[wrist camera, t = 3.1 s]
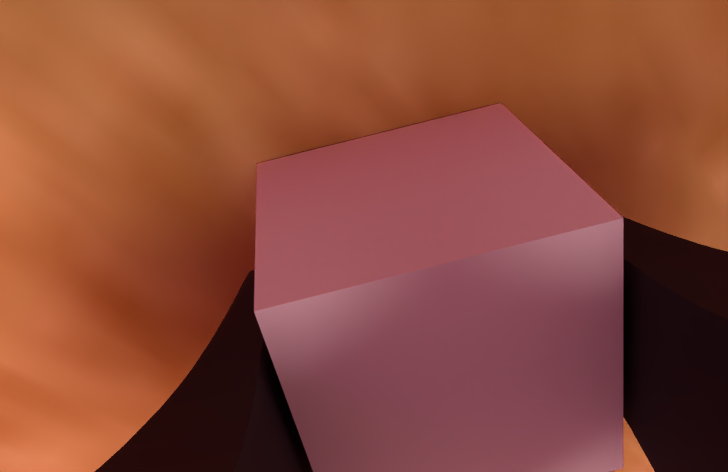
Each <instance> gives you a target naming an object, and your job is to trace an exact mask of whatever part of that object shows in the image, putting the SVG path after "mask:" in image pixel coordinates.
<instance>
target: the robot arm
mask: <svg viewBox="0 0 728 472" xmlns="http://www.w3.org/2000/svg"><path fill="white" fill-rule="evenodd" d="M254 282H255V270H253V271H250V272H249V274H248V275H247V277H246V279H245V280H244V282H243V284H242V286H241V288H240V290H239V292H238V294H237V296H236V298H235V299H234V301H233V303H232V305H231V307H230V309H229V311H228V312H227V314H226V316H225V318H224V319H223V321H222V323H221V324H220V326H219V328H218V330H217V331H216V333H215V335H214V336H213V338H212V340H211V341H210V343H209V344H208V346H207V347H206V349H205V350H204V352H203V353H202V355H201V356H200V358H199V359H198V361H197V362H196V364H195V365H194V367H193V368H192V370H191V371H190V372H189V374H188V375H187V376H186V378H185V379H184V380H183V382H182V383H181V384H180V385H179V387H178V388H177V389H176V390H175V391H174V393H173V394H172V395H171V396H170V397H169V399H168V400H167V401H166V402H165V403H164V405H163V406H162V407H161V408H160V409H159V410H158V411H157V412H156V413H155V414H154V415H153V416H152V417H151V418H150V419H149V420H148V421H147V423H146V424H145V425H144V426H143V427H142V428H141V429H140V430H139V431H138V432H137V433H136V434H135V435H134V436H133V437H132V438H131V439H130V440H129V441H128V442H127V443H126V444H125V445H124V446H123V447H122V448H121V449H120V450H119V451H117V452H116V453H115V454H114V455H113V456H112V457H111V458H110V459H109V460H107V461H106V462H105V463H104V464H103V465H102V466H101V467H100V468H98V469H97V470H96V471H95V472H313V470H312V467H311V465H310V462H309V459H308V456H307V454H306V451H305V448H304V446H303V443H302V440H301V437H300V435H299V432H298V429H297V427H296V424H295V421H294V419H293V416H292V413H291V410H290V408H289V405H288V402H287V400H286V397H285V394H284V392H283V389H282V386H281V383H280V381H279V378H278V375H277V373H276V370H275V367H274V364H273V362H272V359H271V356H270V354H269V351H268V348H267V346H266V343H265V340H264V337H263V335H262V332H261V329H260V327H259V324H258V321H257V318H256V316H255V313H254ZM623 417H624V418H625V420H626V421H627V423H628V424H629V426H630V428H631V429H632V431H633V433H634V435H635V437H636V438H637V440H638V442H639V444H640V446H641V447H642V449H643V451H644V453H645V455H646V456H647V458H648V460H649V462H650V464H651V465H652V467H653V469H654V471H655V472H728V252H727V251H723V250H719V249H715V248H711V247H708V246H704V245H701V244H697V243H694V242H691V241H688V240H685V239H682V238H679V237H676V236H673V235H670V234H667V233H664V232H661V231H659V230H656V229H653V228H650V227H648V226H645V225H642V224H640V223H637V222H635V221H632V220H630V219H627V218H624V217H623Z"/></svg>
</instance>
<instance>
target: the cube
mask: <svg viewBox="0 0 728 472" xmlns="http://www.w3.org/2000/svg"><path fill="white" fill-rule="evenodd" d="M254 313H255V316H256V318H257V321H258V324H259V327H260V329H261V332H262V335H263V337H264V340H265V343H266V346H267V348H268V351H269V354H270V356H271V359H272V362H273V364H274V367H275V370H276V373H277V375H278V378H279V381H280V383H281V386H282V389H283V392H284V394H285V397H286V400H287V402H288V405H289V408H290V410H291V413H292V416H293V419H294V421H295V424H296V427H297V429H298V432H299V435H300V437H301V440H302V443H303V446H304V448H305V451H306V454H307V456H308V459H309V462H310V465H311V467H312V470H313V472H611V471H615V470H618V469H622V468H623V217H622V216H621V215H620V214H619V213H618V212H617V211H615V210H614V209H613V208H612V207H611V206H610V205H609V204H608V203H607V202H606V201H605V200H604V199H603V198H602V197H601V196H600V195H598V194H597V193H596V192H595V191H594V190H593V189H592V188H591V187H590V186H589V185H588V184H587V183H586V182H585V181H584V180H582V179H581V178H580V177H579V176H578V175H577V174H576V173H575V172H574V171H573V170H572V169H571V168H570V167H569V166H568V165H567V164H565V163H564V162H563V161H562V160H561V159H560V158H559V157H558V156H557V155H556V154H555V153H554V152H553V151H552V150H551V149H550V148H548V147H547V146H546V145H545V144H544V143H543V142H542V141H541V140H540V139H539V138H538V137H537V136H536V135H535V134H534V133H533V132H531V131H530V130H529V129H528V128H527V127H526V126H525V125H524V124H523V123H522V122H521V121H520V120H519V119H518V118H517V117H516V116H514V115H513V114H512V113H511V112H510V111H509V110H508V109H507V108H506V107H505V106H504V105H503V104H502V103H498V104H494V105H490V106H486V107H482V108H478V109H474V110H470V111H466V112H462V113H458V114H454V115H450V116H446V117H442V118H438V119H434V120H430V121H426V122H422V123H418V124H414V125H410V126H406V127H402V128H398V129H394V130H390V131H386V132H382V133H378V134H374V135H370V136H366V137H362V138H358V139H354V140H350V141H346V142H342V143H338V144H334V145H330V146H326V147H322V148H318V149H314V150H310V151H306V152H302V153H298V154H294V155H290V156H285V157H281V158H277V159H273V160H269V161H265V162H261V163H257V183H256V233H255V282H254Z"/></svg>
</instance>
